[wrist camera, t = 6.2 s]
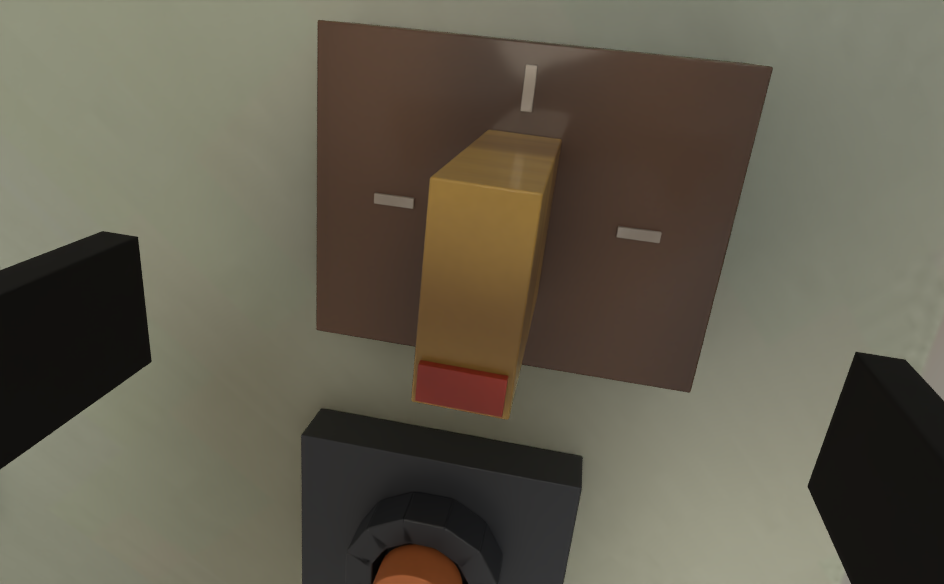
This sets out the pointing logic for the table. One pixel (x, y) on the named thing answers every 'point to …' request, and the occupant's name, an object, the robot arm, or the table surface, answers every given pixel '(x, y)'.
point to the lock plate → (575, 193)
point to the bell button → (417, 567)
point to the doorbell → (432, 502)
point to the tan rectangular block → (482, 271)
